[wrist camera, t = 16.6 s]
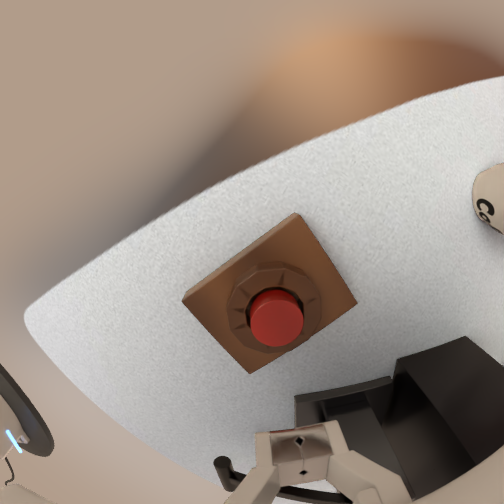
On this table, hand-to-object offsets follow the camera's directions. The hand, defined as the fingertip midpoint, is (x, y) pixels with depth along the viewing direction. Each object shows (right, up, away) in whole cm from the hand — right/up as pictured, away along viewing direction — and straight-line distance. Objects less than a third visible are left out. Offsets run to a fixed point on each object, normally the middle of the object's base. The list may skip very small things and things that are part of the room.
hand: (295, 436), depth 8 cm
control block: (0, +4, +12) cm, 13 cm away
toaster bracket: (+8, -10, +16) cm, 20 cm away
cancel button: (0, +3, +9) cm, 10 cm away
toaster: (+18, -9, +16) cm, 26 cm away
